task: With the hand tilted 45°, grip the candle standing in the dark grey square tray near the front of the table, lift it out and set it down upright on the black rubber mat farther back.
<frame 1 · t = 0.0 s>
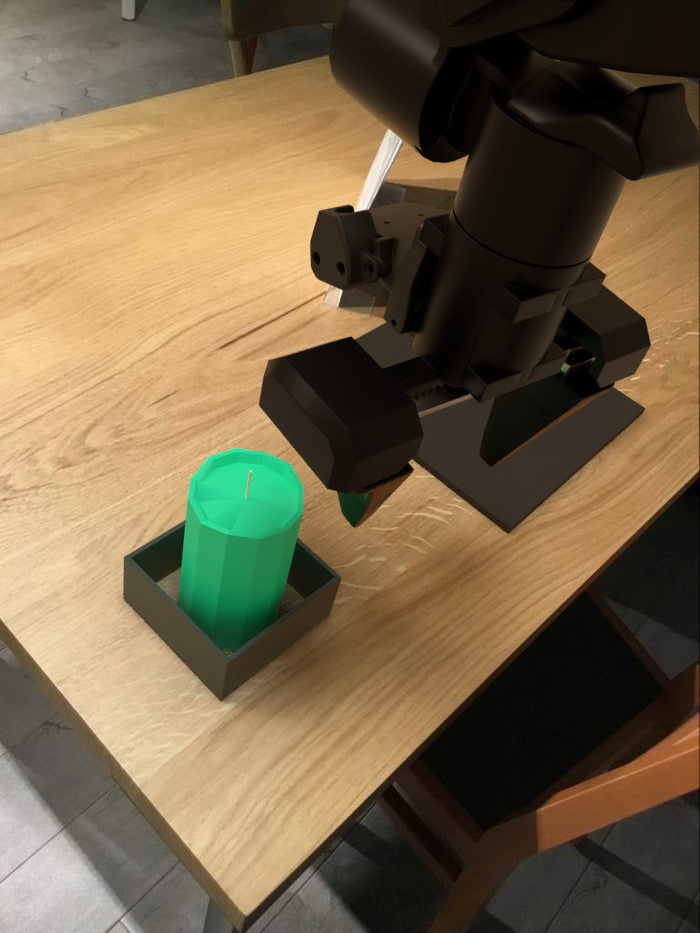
hand: (422, 488, 45), 12 cm above the table, tool pointing down, fingers open, 9 cm apart
mat: (478, 394, 70), on the table
dark grey square tray: (228, 607, 52), on the table
candle: (228, 609, 52), resting in dark grey square tray
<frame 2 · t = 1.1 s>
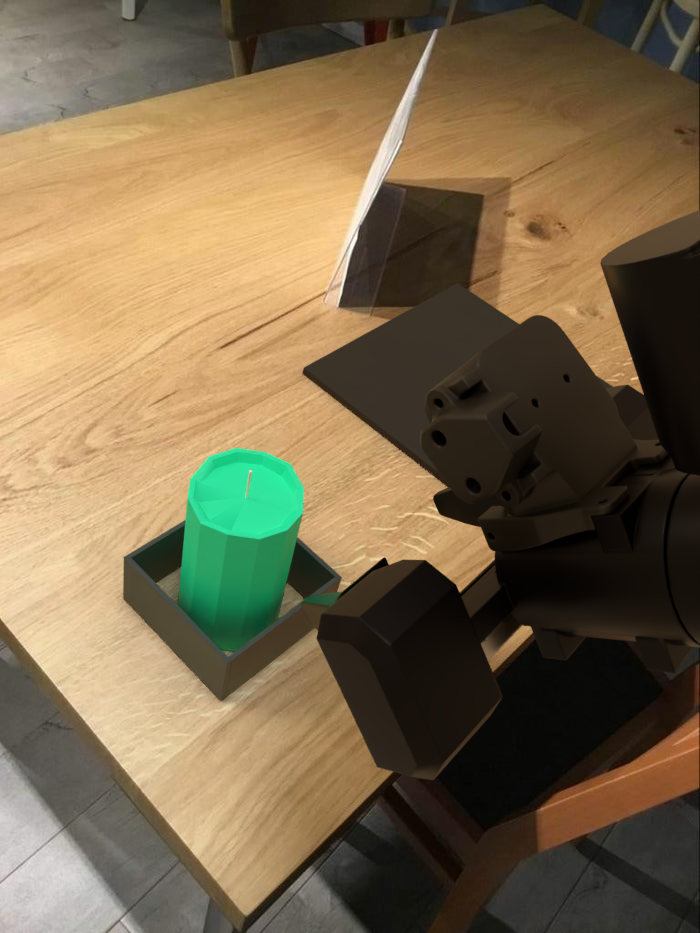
hand: (376, 553, 39), 13 cm above the table, tool tilted 45°, fingers open, 9 cm apart
nothing on the table moved.
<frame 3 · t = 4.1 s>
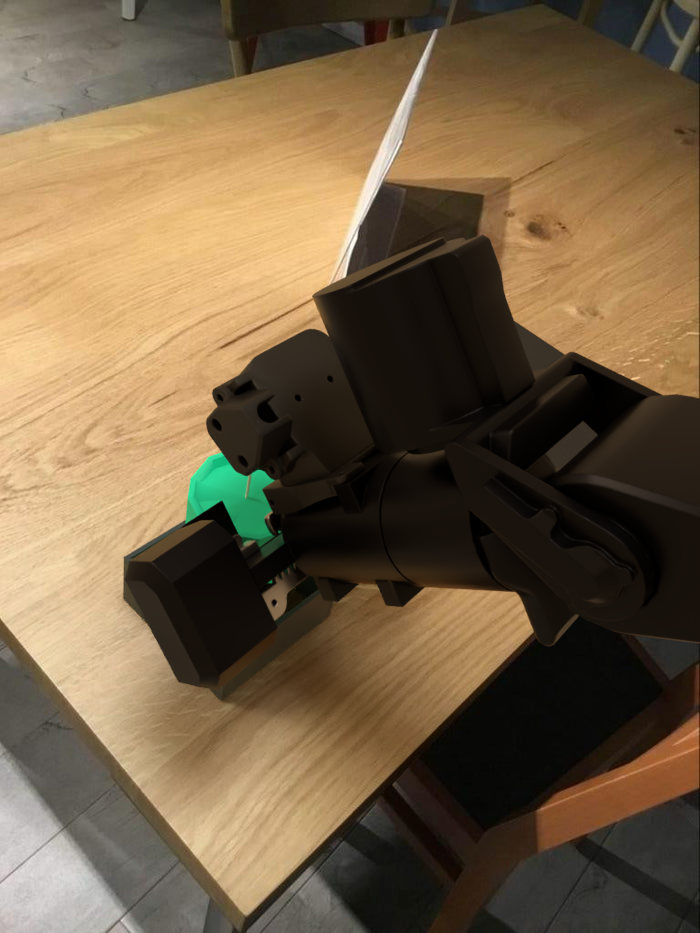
hand: (222, 523, 47), 7 cm above the table, tool tilted 45°, fingers closed on candle, 5 cm apart
candle: (227, 609, 52), resting in dark grey square tray, touching gripper
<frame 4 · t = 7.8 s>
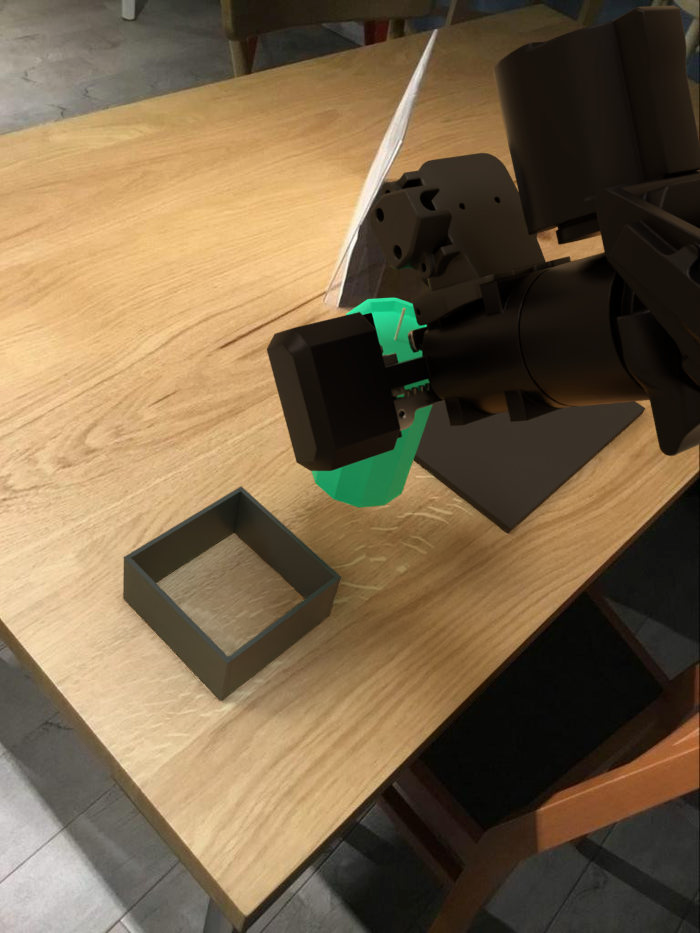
hand: (368, 372, 49), 13 cm above the table, tool tilted 45°, fingers closed on candle, 5 cm apart
candle: (357, 472, 53), point 6 cm above the table, touching gripper
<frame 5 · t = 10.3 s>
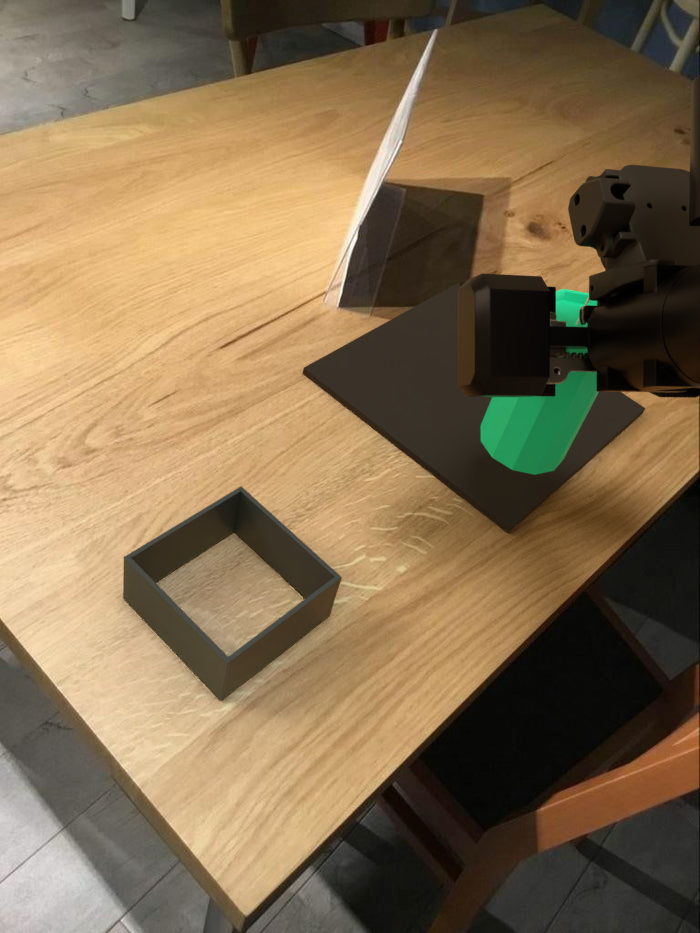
hand: (549, 354, 56), 11 cm above the table, tool tilted 45°, fingers closed on candle, 5 cm apart
candle: (520, 444, 60), point 5 cm above the table, touching gripper
when the fingers open (7 cm above the table, at t = 11.9 s): candle stays where it is, resting on mat.
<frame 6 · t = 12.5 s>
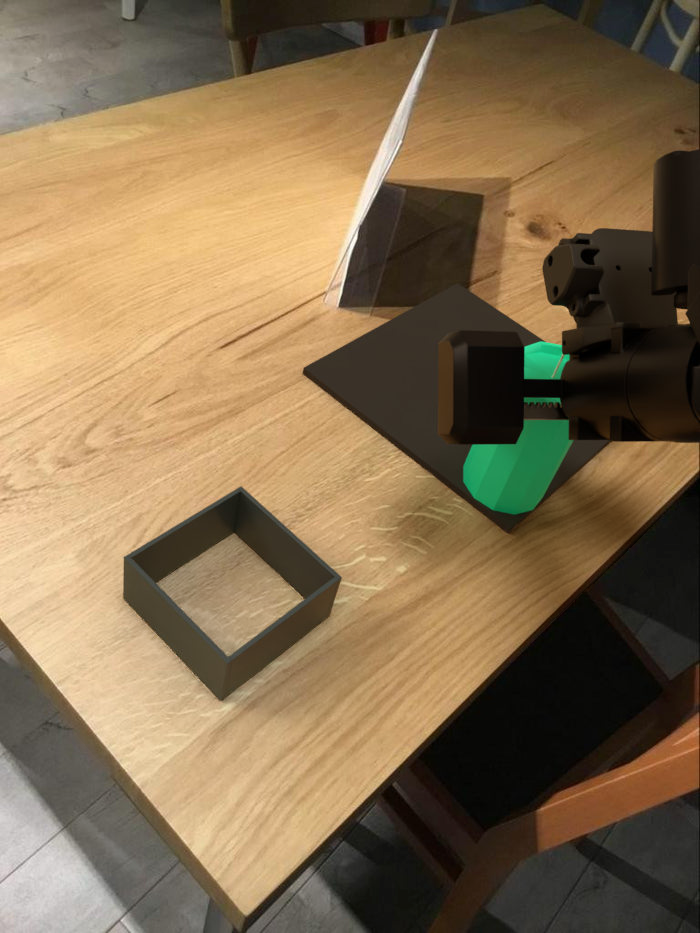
hand: (528, 394, 58), 8 cm above the table, tool tilted 45°, fingers open, 9 cm apart
candle: (501, 483, 63), resting on mat
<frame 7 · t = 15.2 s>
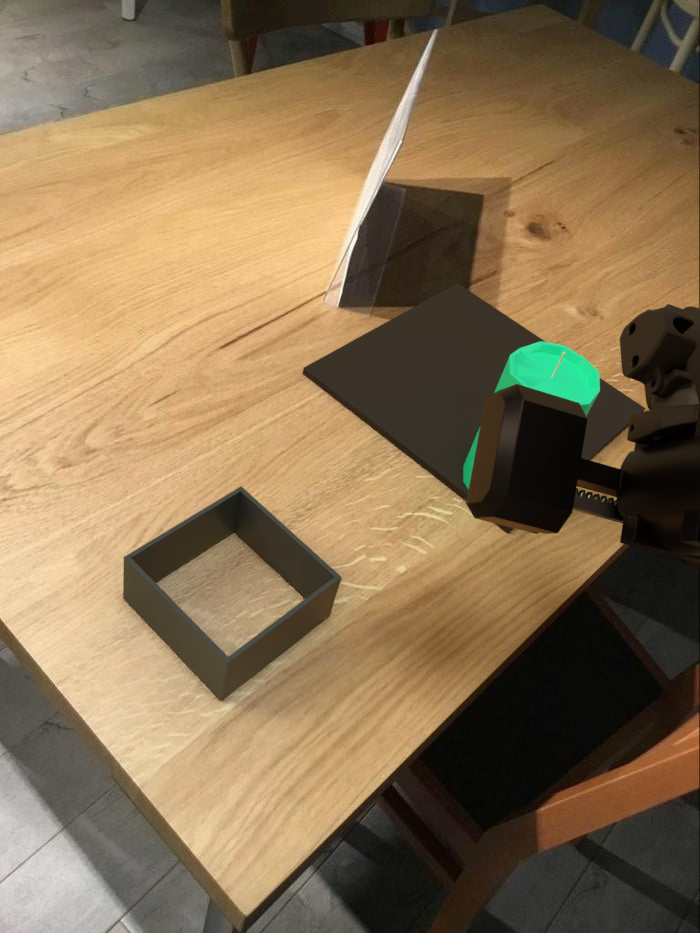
hand: (562, 505, 50), 9 cm above the table, tool tilted 35°, fingers open, 9 cm apart
nothing on the table moved.
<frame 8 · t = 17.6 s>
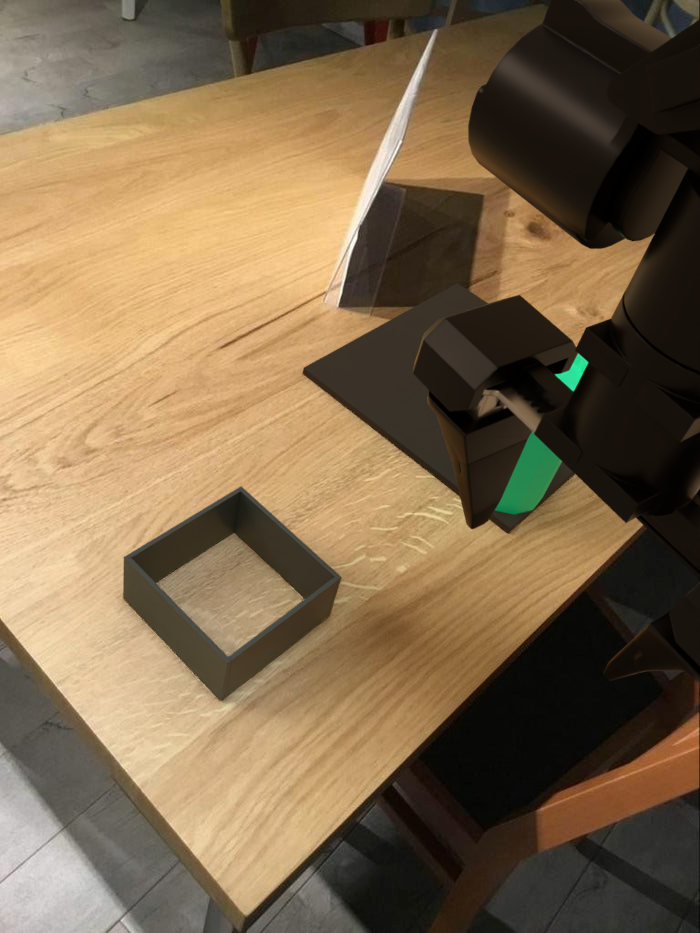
hand: (540, 594, 40), 13 cm above the table, tool pointing down, fingers open, 9 cm apart
nothing on the table moved.
at the end: candle inside the target area on the mat (0.7 cm from its centre), point 0.4 cm above the mat's base; candle tilted 0°; candle touching mat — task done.
